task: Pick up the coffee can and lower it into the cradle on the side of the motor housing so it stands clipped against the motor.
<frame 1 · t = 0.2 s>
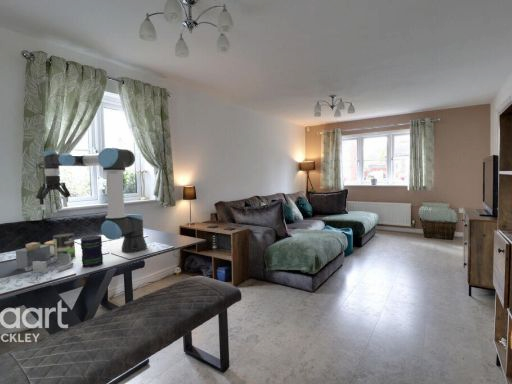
hand: (55, 208, 176), 28 cm above the table, tool pointing down, fingers open, 13 cm apart
storage jar: (92, 265, 148), on the table
lidded jar: (56, 254, 170), on the table
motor: (53, 267, 145), on the table
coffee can: (65, 258, 160), on the table
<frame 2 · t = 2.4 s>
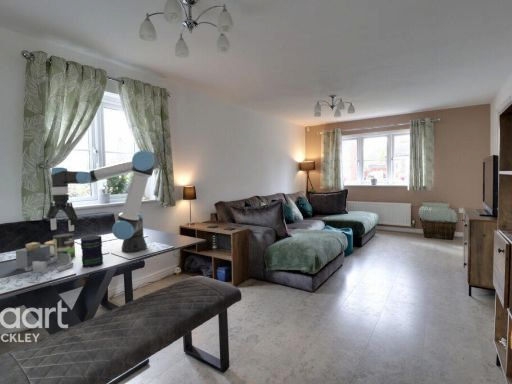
hand: (62, 230, 159), 17 cm above the table, tool pointing down, fingers open, 13 cm apart
nothing on the table moved.
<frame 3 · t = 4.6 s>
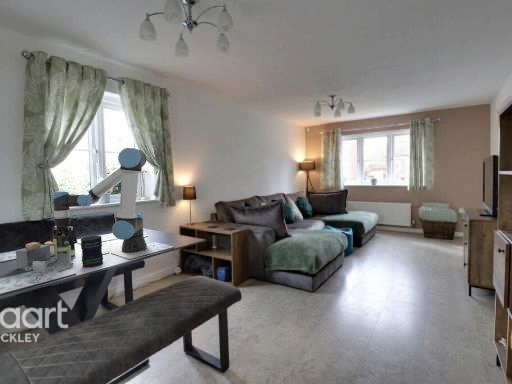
hand: (65, 254, 160), 2 cm above the table, tool pointing down, fingers closed on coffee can, 10 cm apart
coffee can: (65, 258, 160), on the table, touching gripper
everything else where it was.
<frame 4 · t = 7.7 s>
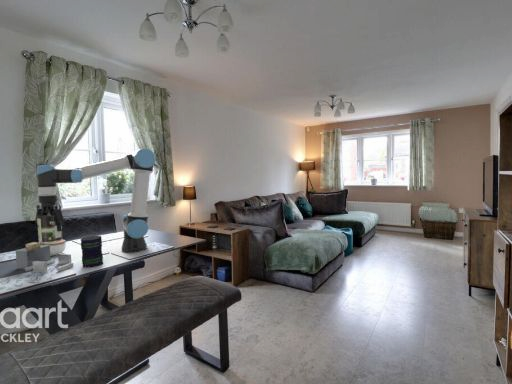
hand: (50, 237, 143), 17 cm above the table, tool pointing down, fingers closed on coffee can, 10 cm apart
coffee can: (51, 241, 143), point 14 cm above the table, touching gripper
everything else where it was.
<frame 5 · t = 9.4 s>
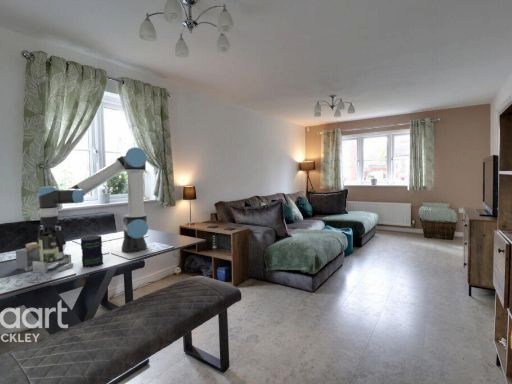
hand: (52, 257, 144), 6 cm above the table, tool pointing down, fingers closed on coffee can, 10 cm apart
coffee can: (52, 262, 144), point 3 cm above the table, touching gripper
everything else where it was.
when the fingers open (4 cm above the table, at t = 10.8 s): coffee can drops 1 cm, on the table.
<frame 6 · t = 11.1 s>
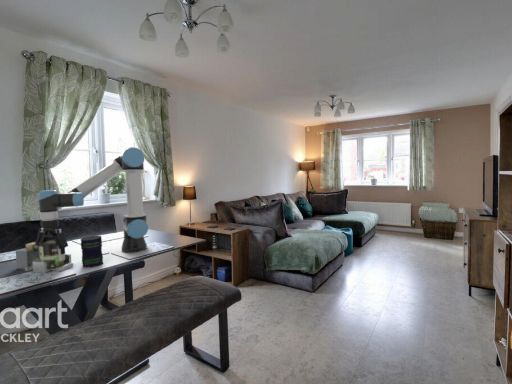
hand: (52, 259, 144), 5 cm above the table, tool pointing down, fingers open, 13 cm apart
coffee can: (53, 268, 145), on the table
everything else where it was.
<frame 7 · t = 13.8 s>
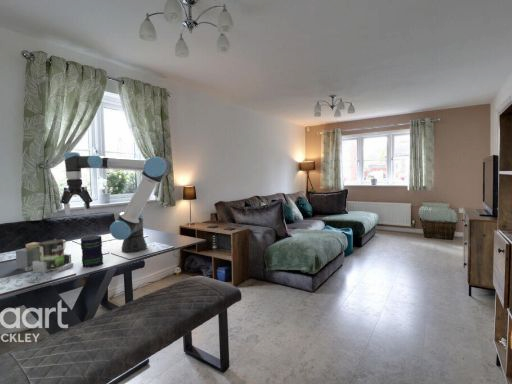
hand: (77, 214, 162), 26 cm above the table, tool pointing down, fingers open, 13 cm apart
nothing on the table moved.
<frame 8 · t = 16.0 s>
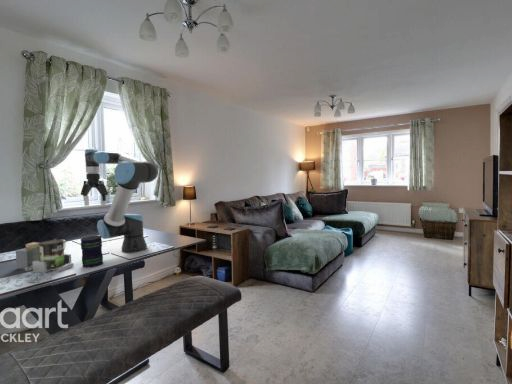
hand: (95, 205, 178), 29 cm above the table, tool pointing down, fingers open, 13 cm apart
nothing on the table moved.
at the end: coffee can 0.0 cm off-centre on the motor, point 0.0 cm above the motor's base; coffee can tilted 0°; the gripper is holding nothing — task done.
